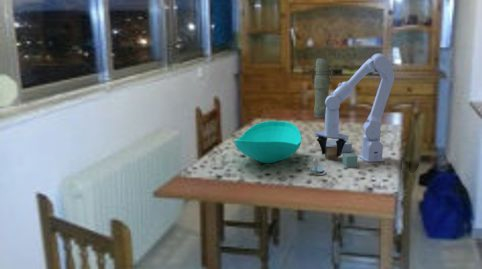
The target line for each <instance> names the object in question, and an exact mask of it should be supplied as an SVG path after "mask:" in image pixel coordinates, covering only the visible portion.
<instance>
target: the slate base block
mask: <svg viewBox="0 0 482 269" xmlns="http://www.w3.org/2000/svg"><path fill="white" fill-rule="evenodd" d="M338 140H339V139H330V140H328V139H327V142H326V147H328V146H336V147H337V144H336V141H338ZM352 144H353V143H351V142H350V141H349V140H347V141H346V143H345V144H344V147H343V149H342V152H341V154H345V153H353V152H352V149H353V148H352V147H353V146H352Z"/></svg>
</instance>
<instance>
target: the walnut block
mask: <svg viewBox="0 0 482 269" xmlns="http://www.w3.org/2000/svg"><path fill="white" fill-rule="evenodd" d="M324 158H325V159H326V160H327V161H331V160H339V157H338V156H337V147H336V146H328V147H325V154H324Z"/></svg>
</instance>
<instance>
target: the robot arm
mask: <svg viewBox="0 0 482 269" xmlns="http://www.w3.org/2000/svg"><path fill="white" fill-rule="evenodd" d="M376 71H377V72H378V74H379V76H380V77H381V80H380V83H379V86H378V88H377V91H376V95H375V98H374V101H373V104H372V107H371V110H370V113H369V115H368V117H367V119H366V121H365V122H364V123H363V125H362V131H363V132H364V134H363V135H362V139H361V140H362V142H361V143H362V146H361V147H362V148H361V154H358V158H360V159H362V160H363V161H364V162H366V163H369V162H371V163H372V162H384V161H385V159H384V158H383V154H384V153H383V151H384V148H383V144H382V142H381V126H382V118H383V115H384V112H385V108H386V105H387V103H388V100H389V97H390V93H391V92H392V91H391V90H392V87H393V84H394V80H395V77H396V76H395V73H394V69H393V63H392V61H391V60H390V59H389V57H388V56H386V55H384V54H383V53H379V52H378V53H374V54H373V55H372V56H371V57H370V58H368V59H366V61H365V62H364V63H363V64H362V65H361V66H360V68H359V69H357V70H356V72H355V73H354V74H353V75H352V76H351V77H350V79H349V80H347V81H343V82H339V83H338V85H337V87H336V89H335V90H334V91H333V92H332V91H331V92H329V93H330V95H329V96H328V97H327V98H326V101H325V105H326V113H325V119H324V125H325V126H324V131H315V138H316V141H317V142H318V144H319V147H320V149H321V153H322V155H325V147H326V142H327V141H328V139H331V140H338V141H336V144H337V156H338V158H339V157H341V155H342V153H341V152H342V149H343V147H344V144H345V143H346V141H349V135H347V134H344V133H342V134H341V133H340V132H339V129H340V128H339V127H340V126H339V125H340V112H339V109H340V106H341V103H343V102H345V101H346V99H347V98H348V97H349V96H350V95H351V94H352V93H353V92H354V87H355V86H356V85H357V84H358V83H359V82H360V81H361V80H362V79H363V78H364V77H365V76H367V75H368V74H371V73H375V72H376Z"/></svg>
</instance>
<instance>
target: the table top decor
mask: <svg viewBox="0 0 482 269" xmlns="http://www.w3.org/2000/svg"><path fill="white" fill-rule="evenodd" d="M302 140H303V139H302V134H301V131H300V129H299V128H298V127H297V126H296V125H295V124H294V123H292V122H288V121H285V120H283V121H282V120H281V121H280V120H268V121H262V122H259V123H256V124H254V125H252V126H251V127H250V128H248V129H247V130H245V132H244V133H243V134H242V135H241V136H239V137H238V138H236V139H235V140H234V141H233V142H234V146H235V147H236V149H237V150H238V151H239V152H241V153H242V154H243V155H244V156H246V157H249V158H251V159H253V160H255V161H258V162H259V163H264V164H272V163H276V162H281V161H283V160H285V159H287V158H290V157H291V156H292V155H293V154H295V153H296V152H297V151H298V149H299V148H300V147H301V144H302V143H301V142H302Z"/></svg>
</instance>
